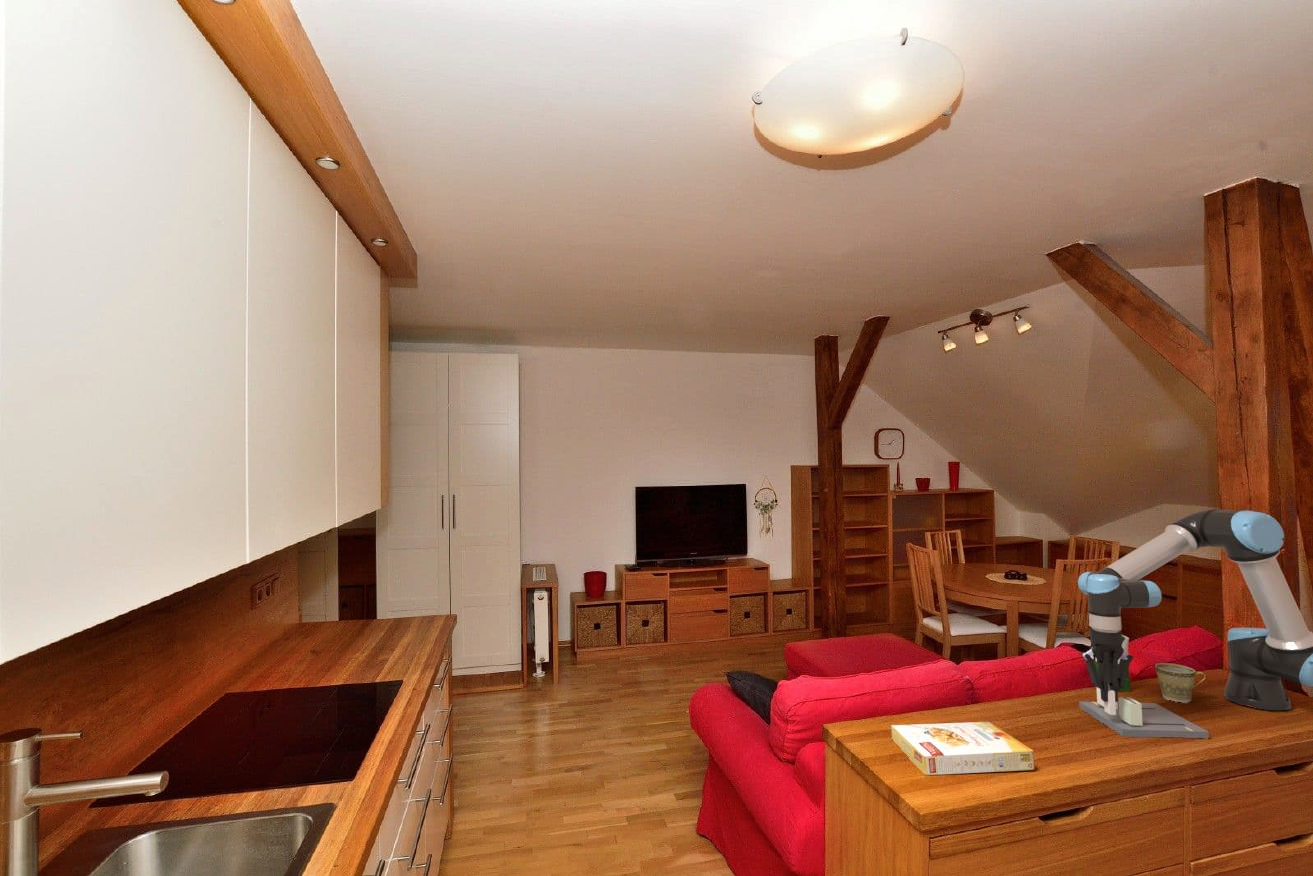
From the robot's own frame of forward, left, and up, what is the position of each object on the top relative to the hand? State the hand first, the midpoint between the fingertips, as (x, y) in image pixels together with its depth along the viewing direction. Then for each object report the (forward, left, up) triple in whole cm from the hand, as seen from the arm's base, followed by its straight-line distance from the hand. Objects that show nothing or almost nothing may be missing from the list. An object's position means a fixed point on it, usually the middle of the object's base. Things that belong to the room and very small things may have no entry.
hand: (1110, 713), depth 176 cm
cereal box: (+49, +20, -5) cm, 53 cm away
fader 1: (-6, -12, -2) cm, 14 cm away
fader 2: (-5, 0, -2) cm, 6 cm away
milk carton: (-21, -36, -5) cm, 42 cm away
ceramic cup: (-36, -26, -5) cm, 45 cm away
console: (-11, -6, -5) cm, 14 cm away
